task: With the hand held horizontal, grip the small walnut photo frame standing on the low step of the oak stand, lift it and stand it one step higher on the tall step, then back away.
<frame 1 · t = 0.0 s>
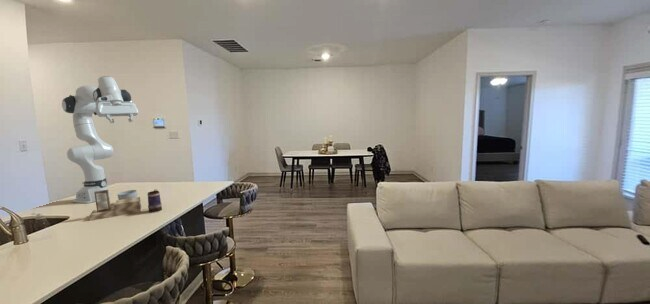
hand: (121, 122, 166), 54 cm above the kitchen island, tool tilted 30°, fingers open, 8 cm apart
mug: (156, 210, 177), on the kitchen island
stand: (117, 213, 172), on the kitchen island
frame: (104, 210, 169), point 3 cm above the kitchen island, touching stand
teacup: (130, 203, 194), on the kitchen island
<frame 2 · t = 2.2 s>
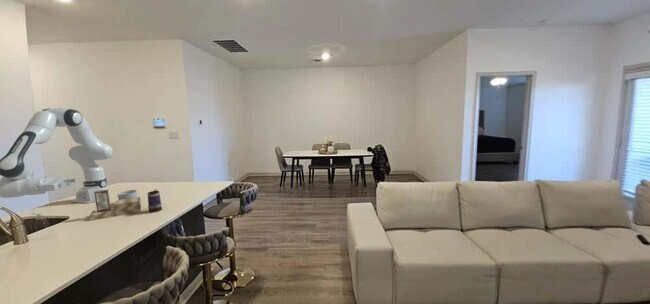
hand: (72, 182, 160), 22 cm above the kitchen island, tool horizontal, fingers open, 8 cm apart
nothing on the kitchen island moved.
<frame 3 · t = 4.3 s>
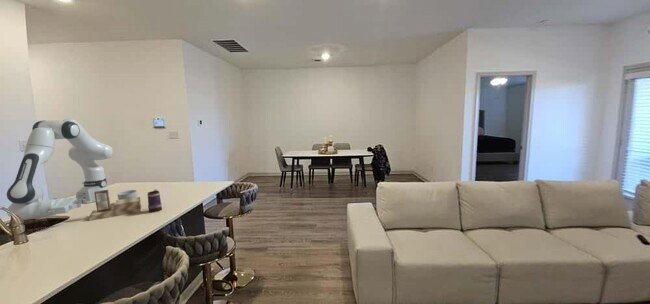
hand: (82, 203, 164), 9 cm above the kitchen island, tool horizontal, fingers open, 8 cm apart
nothing on the kitchen island moved.
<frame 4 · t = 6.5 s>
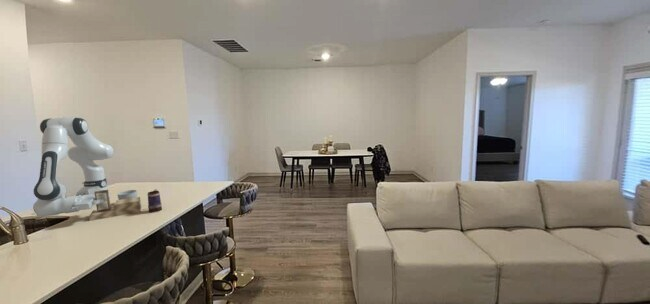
hand: (104, 199, 168), 10 cm above the kitchen island, tool horizontal, fingers closed on frame, 3 cm apart
frame: (104, 210, 169), point 3 cm above the kitchen island, touching gripper, stand
everything else where it was.
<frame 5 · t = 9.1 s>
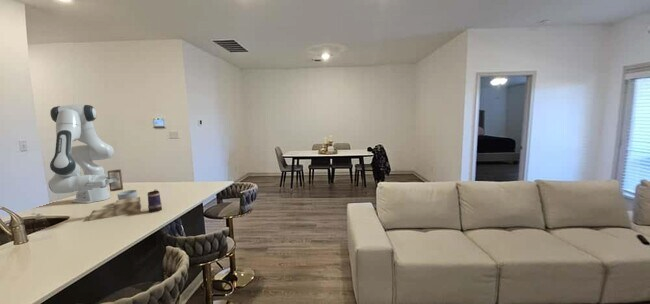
hand: (117, 179, 170), 21 cm above the kitchen island, tool horizontal, fingers closed on frame, 3 cm apart
frame: (116, 190, 171), point 14 cm above the kitchen island, touching gripper
everything else where it was.
when the fingers open (15 cm above the kitchen island, at t = 11.5 s): frame stays where it is, resting on stand.
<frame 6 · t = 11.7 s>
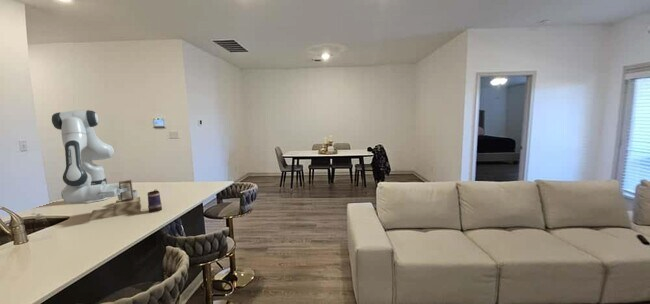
hand: (127, 188, 173), 15 cm above the kitchen island, tool horizontal, fingers open, 5 cm apart
frame: (127, 200, 174), point 7 cm above the kitchen island, touching stand
everything else where it was.
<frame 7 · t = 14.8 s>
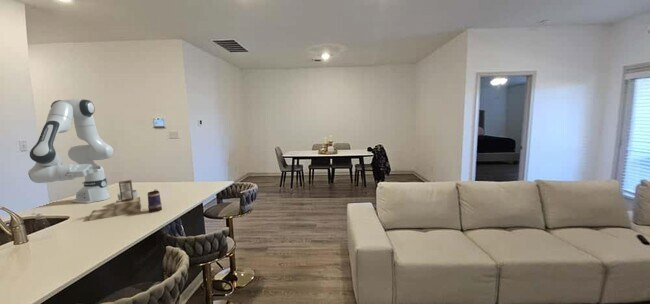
hand: (99, 168, 171), 27 cm above the kitchen island, tool horizontal, fingers open, 8 cm apart
nothing on the kitchen island moved.
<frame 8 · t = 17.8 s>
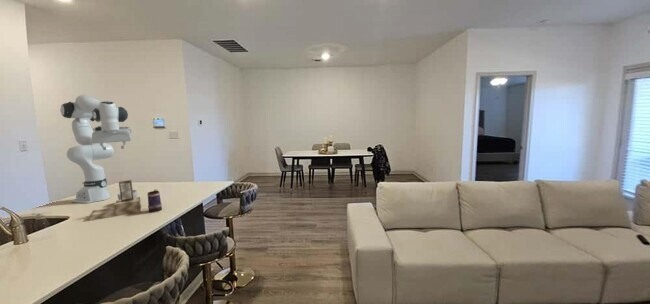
hand: (113, 149, 183), 37 cm above the kitchen island, tool pointing down, fingers open, 8 cm apart
nothing on the kitchen island moved.
at the end: frame inside the target area (0.3 cm from its centre), point 7.0 cm above the kitchen island; frame tilted 0°; the gripper is holding nothing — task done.
